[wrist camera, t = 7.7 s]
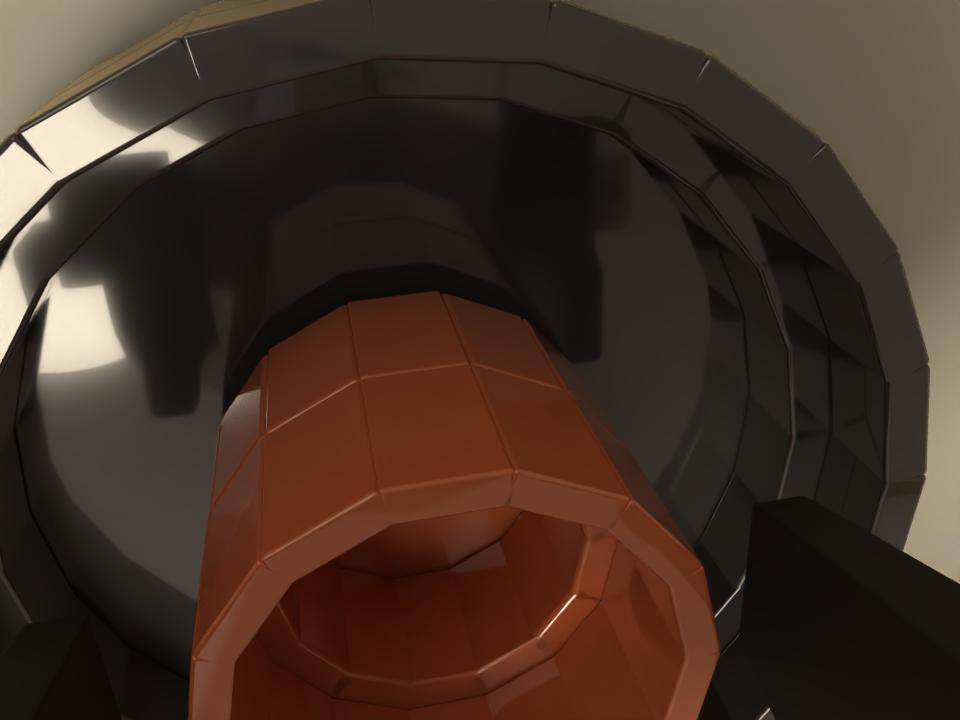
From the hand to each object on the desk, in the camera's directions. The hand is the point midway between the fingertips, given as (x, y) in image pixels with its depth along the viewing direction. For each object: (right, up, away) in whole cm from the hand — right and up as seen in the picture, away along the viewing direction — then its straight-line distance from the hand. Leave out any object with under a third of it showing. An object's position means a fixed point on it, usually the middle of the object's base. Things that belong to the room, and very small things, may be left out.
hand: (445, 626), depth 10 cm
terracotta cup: (-1, +2, +3) cm, 4 cm away
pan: (-1, +2, +4) cm, 4 cm away
